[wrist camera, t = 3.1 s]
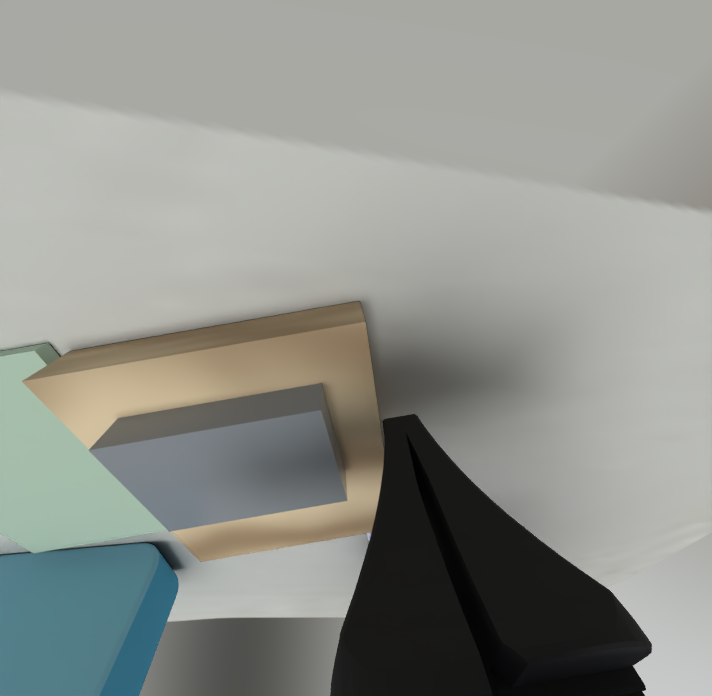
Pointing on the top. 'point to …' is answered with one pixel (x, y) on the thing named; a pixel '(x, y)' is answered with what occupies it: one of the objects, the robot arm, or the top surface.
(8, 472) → the green mat
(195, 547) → the oak board
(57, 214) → the top surface
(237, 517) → the slate tile
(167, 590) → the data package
